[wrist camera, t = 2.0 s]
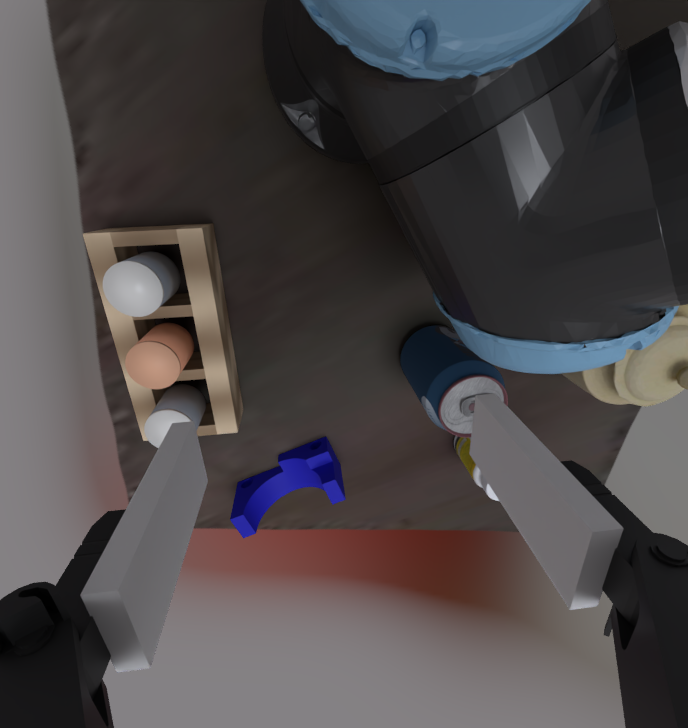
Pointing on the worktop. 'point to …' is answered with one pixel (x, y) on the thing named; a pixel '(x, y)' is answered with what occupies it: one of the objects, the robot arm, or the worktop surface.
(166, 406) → the plunger
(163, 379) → the plunger mid
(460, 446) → the supplement bottle
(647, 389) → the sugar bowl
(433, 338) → the soda can
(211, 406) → the button block
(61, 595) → the robot arm
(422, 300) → the worktop surface
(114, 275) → the plunger
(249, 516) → the cable clip
